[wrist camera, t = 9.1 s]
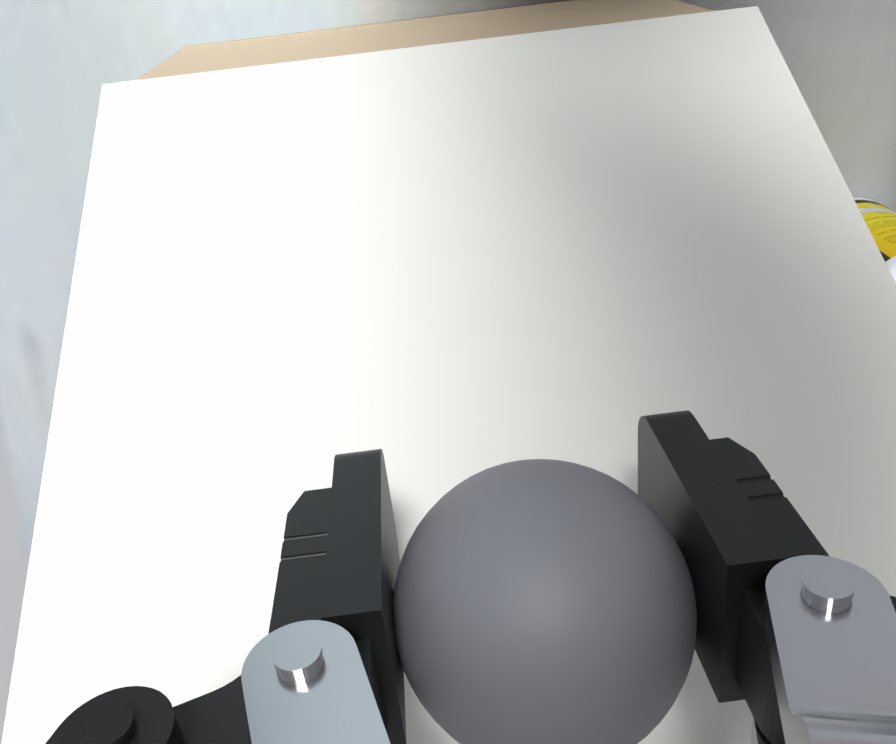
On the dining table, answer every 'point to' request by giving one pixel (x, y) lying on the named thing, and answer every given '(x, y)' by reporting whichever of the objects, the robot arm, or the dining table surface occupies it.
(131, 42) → the dining table surface
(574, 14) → the carton
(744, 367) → the lid
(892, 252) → the supplement bottle
